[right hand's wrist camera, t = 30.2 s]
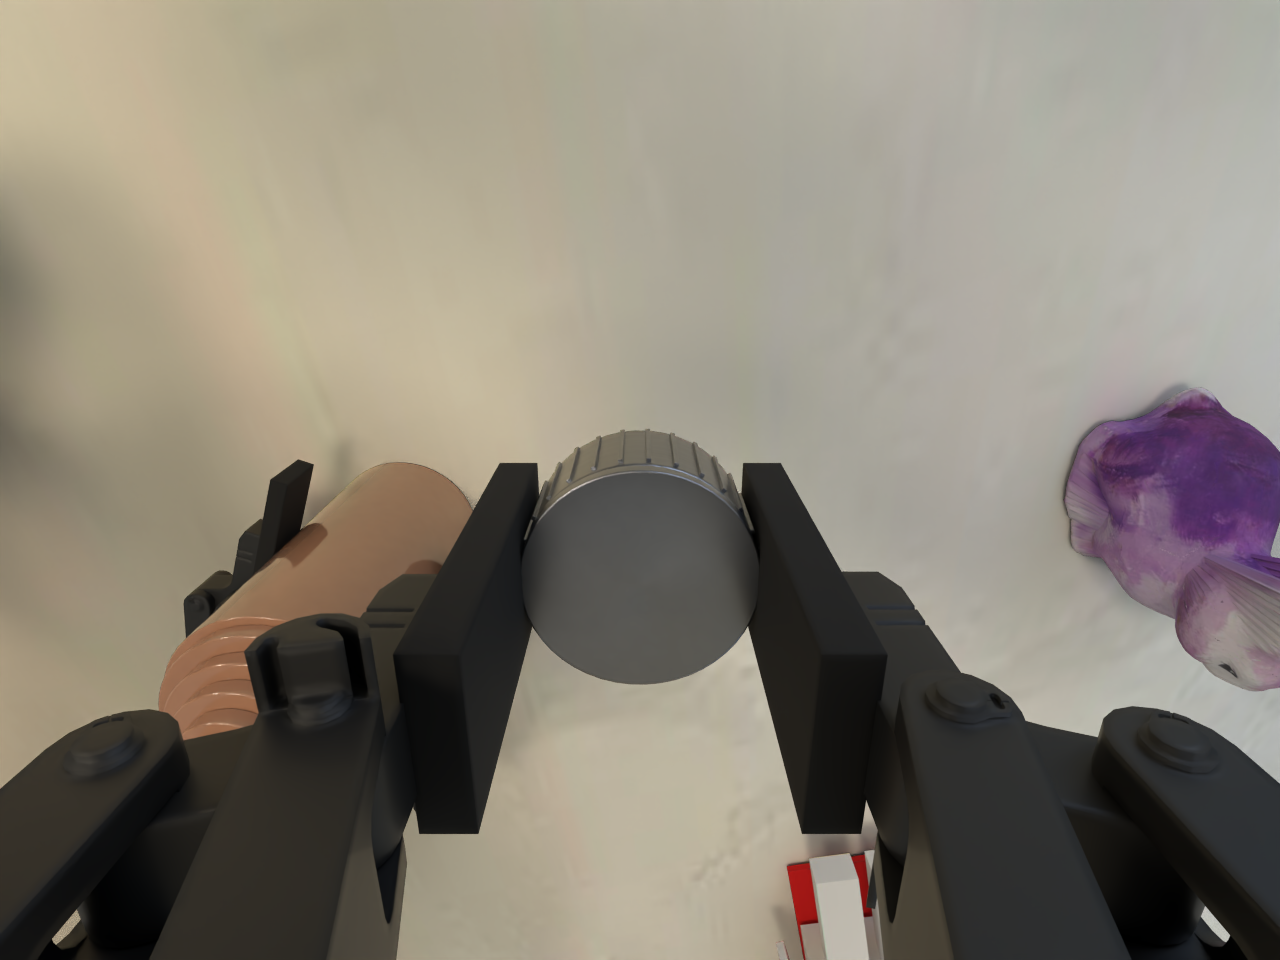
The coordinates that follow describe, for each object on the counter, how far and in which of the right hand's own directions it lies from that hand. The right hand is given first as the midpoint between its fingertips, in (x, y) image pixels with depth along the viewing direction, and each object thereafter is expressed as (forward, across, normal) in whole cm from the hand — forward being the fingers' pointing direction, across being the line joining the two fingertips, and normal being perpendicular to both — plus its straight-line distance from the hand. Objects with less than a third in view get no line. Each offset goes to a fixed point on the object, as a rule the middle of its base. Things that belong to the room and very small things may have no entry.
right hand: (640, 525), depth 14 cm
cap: (-2, 0, 0) cm, 2 cm away
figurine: (+24, +28, -9) cm, 38 cm away
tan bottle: (+24, -14, -11) cm, 30 cm away
